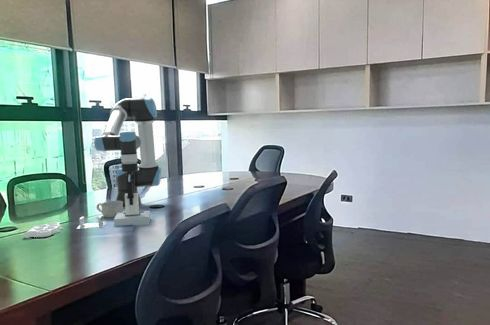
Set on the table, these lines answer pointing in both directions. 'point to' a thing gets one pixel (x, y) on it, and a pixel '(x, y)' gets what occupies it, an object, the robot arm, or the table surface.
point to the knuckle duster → (43, 230)
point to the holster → (91, 225)
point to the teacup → (111, 208)
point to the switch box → (132, 219)
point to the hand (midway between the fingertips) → (132, 210)
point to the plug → (136, 203)
